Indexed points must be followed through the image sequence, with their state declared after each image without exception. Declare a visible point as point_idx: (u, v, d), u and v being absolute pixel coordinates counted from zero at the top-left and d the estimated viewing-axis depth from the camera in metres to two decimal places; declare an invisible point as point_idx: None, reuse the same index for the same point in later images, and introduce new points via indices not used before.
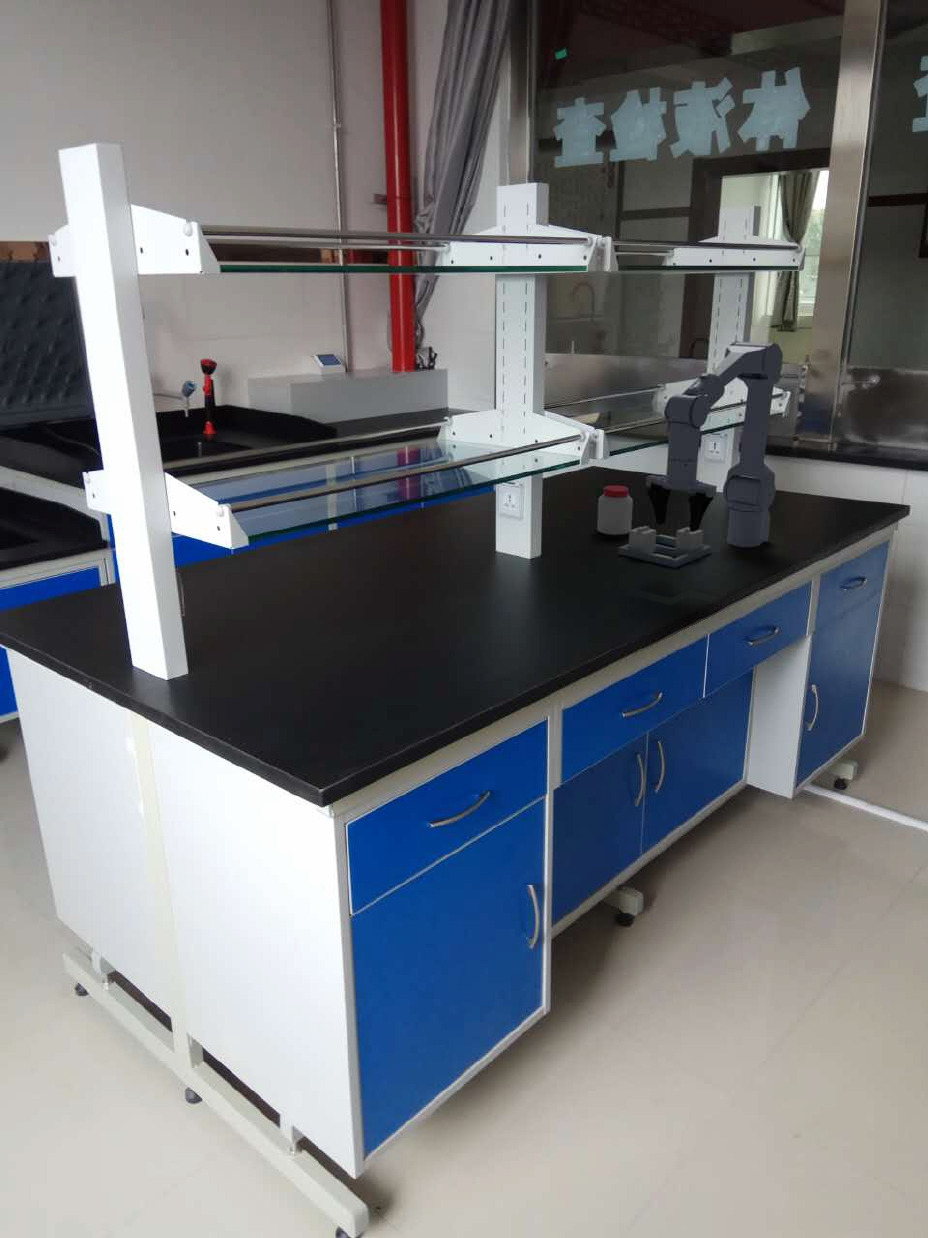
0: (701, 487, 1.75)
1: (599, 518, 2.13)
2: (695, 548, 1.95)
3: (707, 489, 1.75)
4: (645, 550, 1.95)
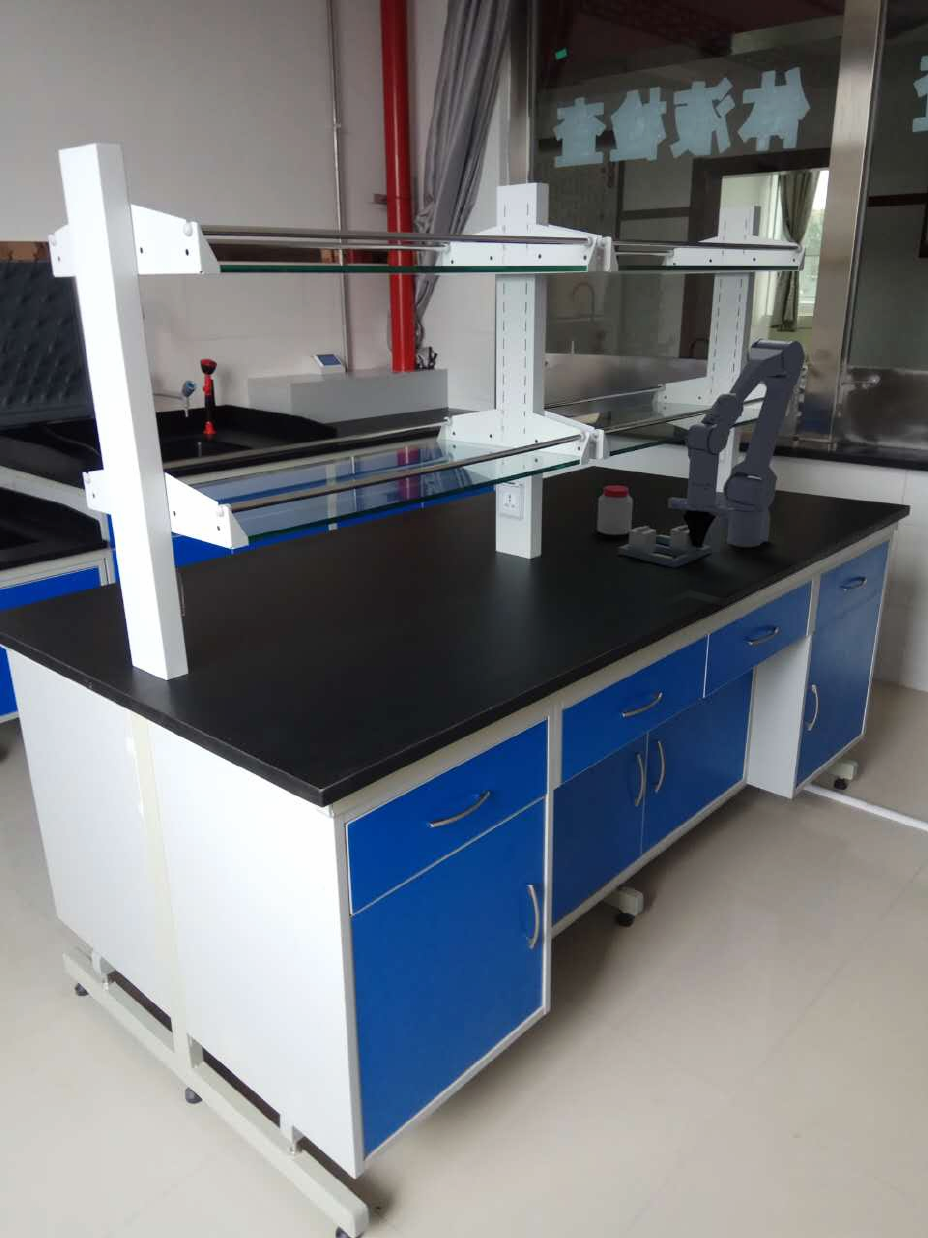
0: (720, 509, 1.88)
1: (599, 518, 2.13)
2: (689, 547, 1.96)
3: (726, 511, 1.87)
4: (645, 550, 1.95)
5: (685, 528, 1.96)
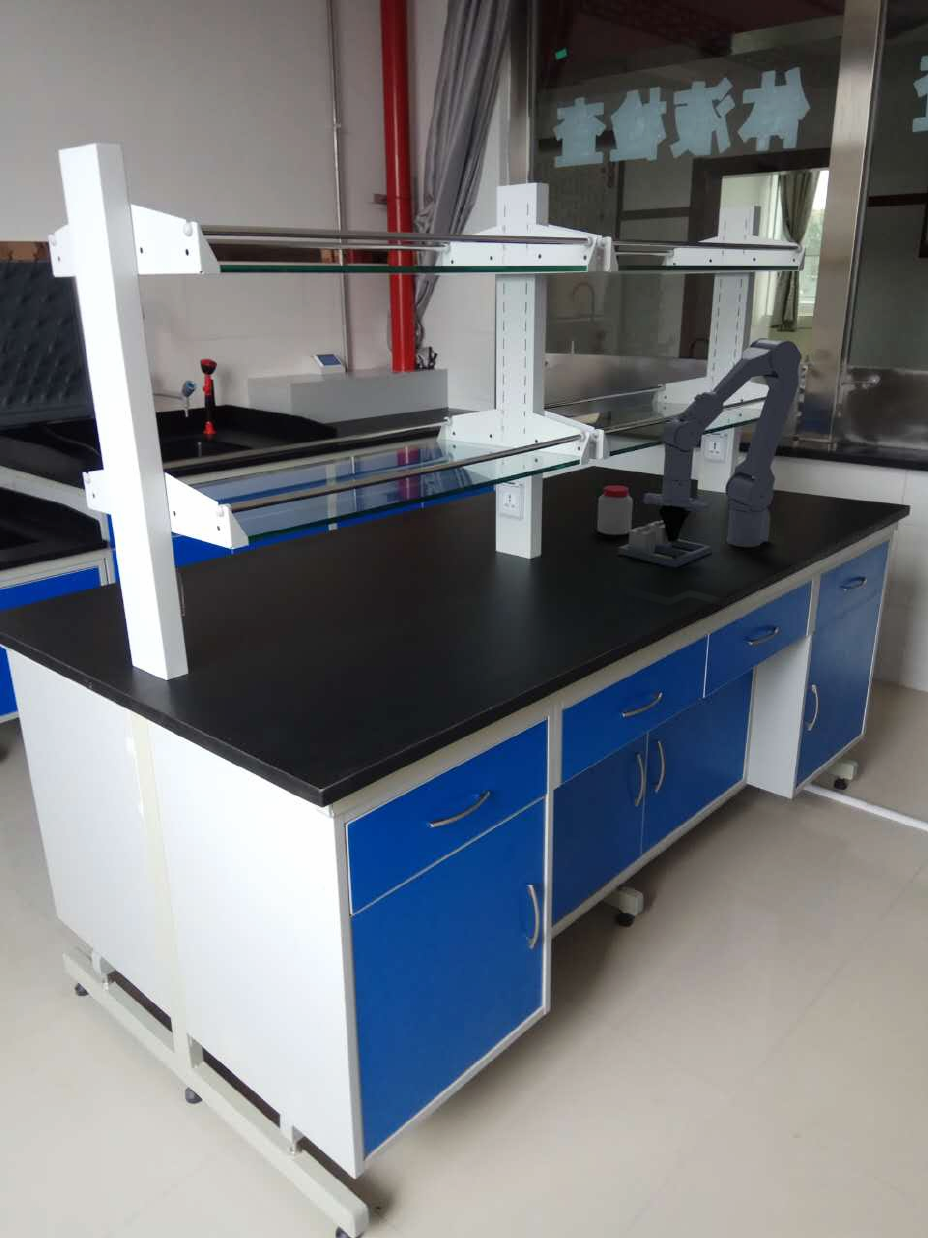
0: (694, 505, 1.91)
1: (599, 518, 2.13)
2: (665, 541, 2.00)
3: (700, 506, 1.91)
4: (645, 550, 1.95)
5: (661, 523, 2.00)
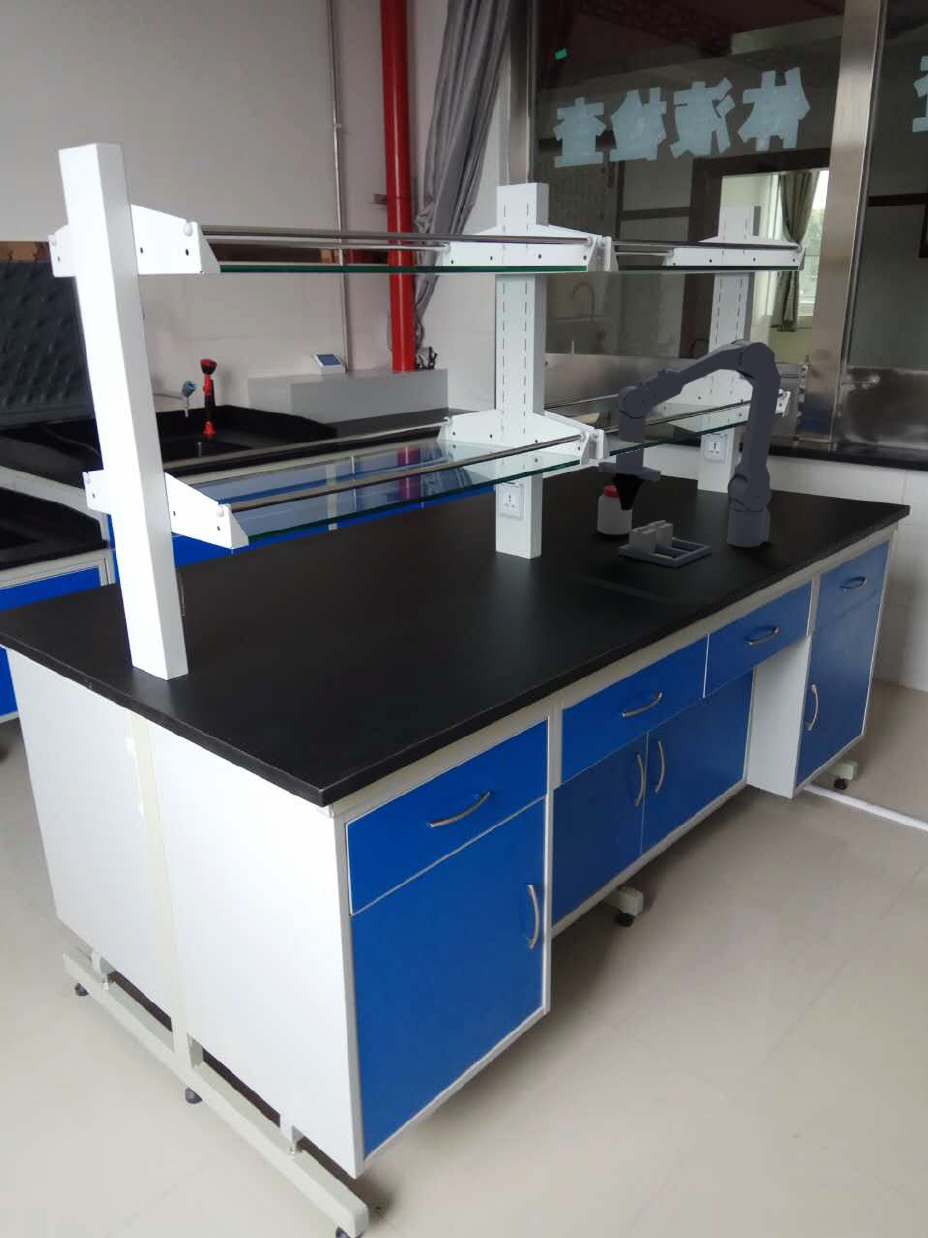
0: (646, 472, 1.91)
1: (599, 518, 2.13)
2: (665, 541, 2.00)
3: (652, 474, 1.91)
4: (645, 550, 1.95)
5: (661, 523, 2.00)
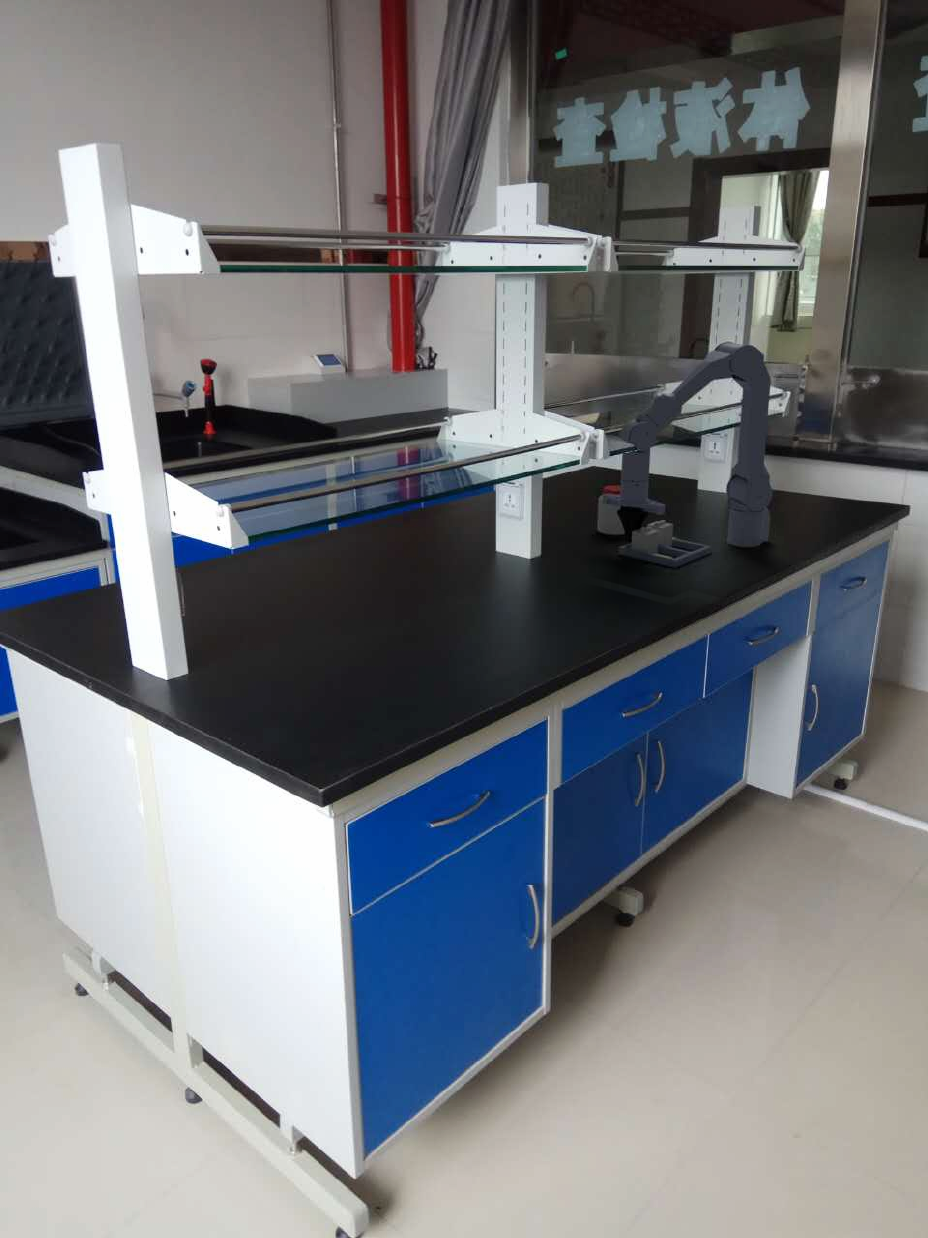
0: (651, 505, 1.91)
1: (599, 518, 2.13)
2: (665, 541, 2.00)
3: (656, 507, 1.91)
4: (648, 551, 1.94)
5: (661, 523, 2.00)
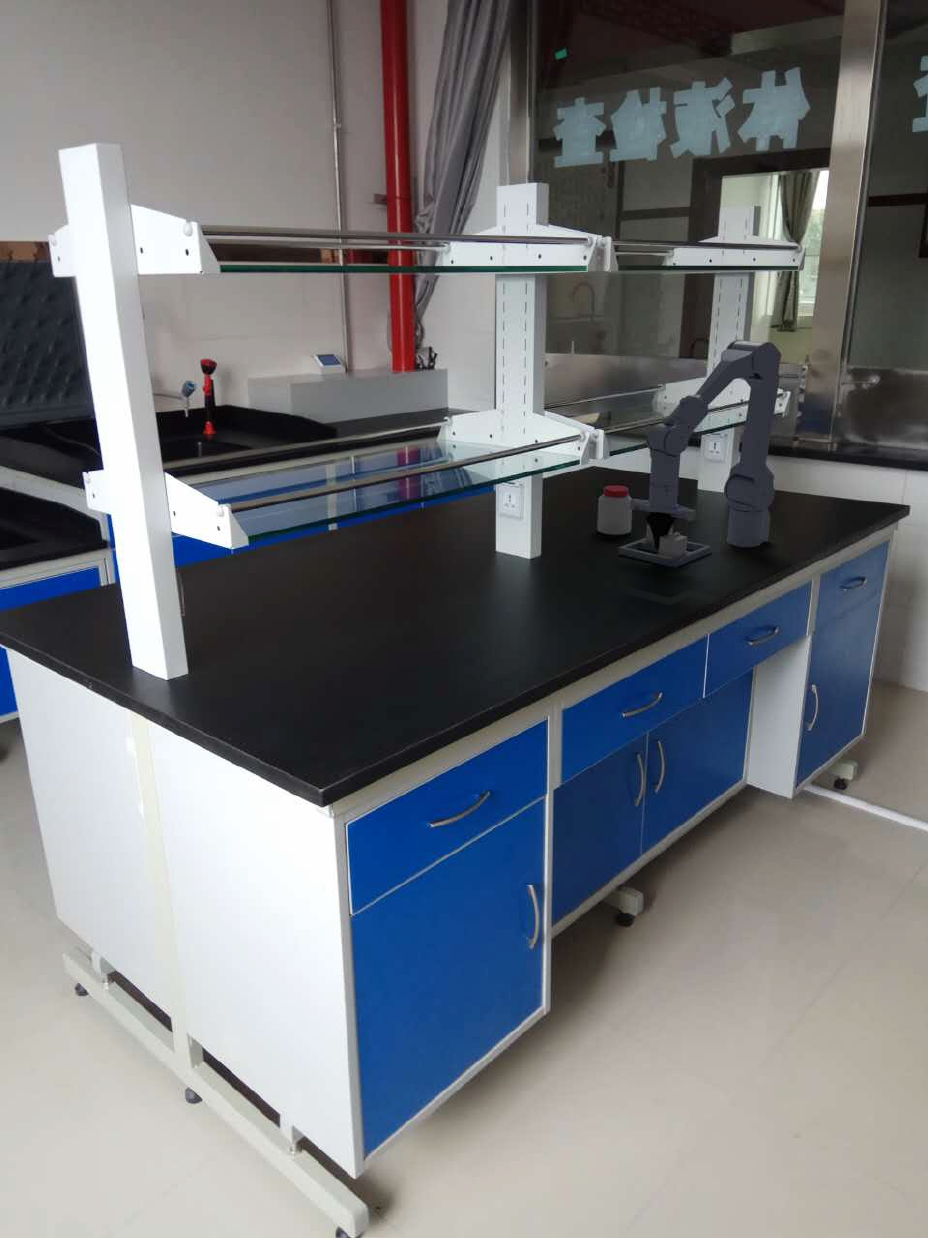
0: (681, 511, 1.87)
1: (599, 518, 2.13)
2: None
3: (687, 513, 1.86)
4: (676, 557, 1.90)
5: None
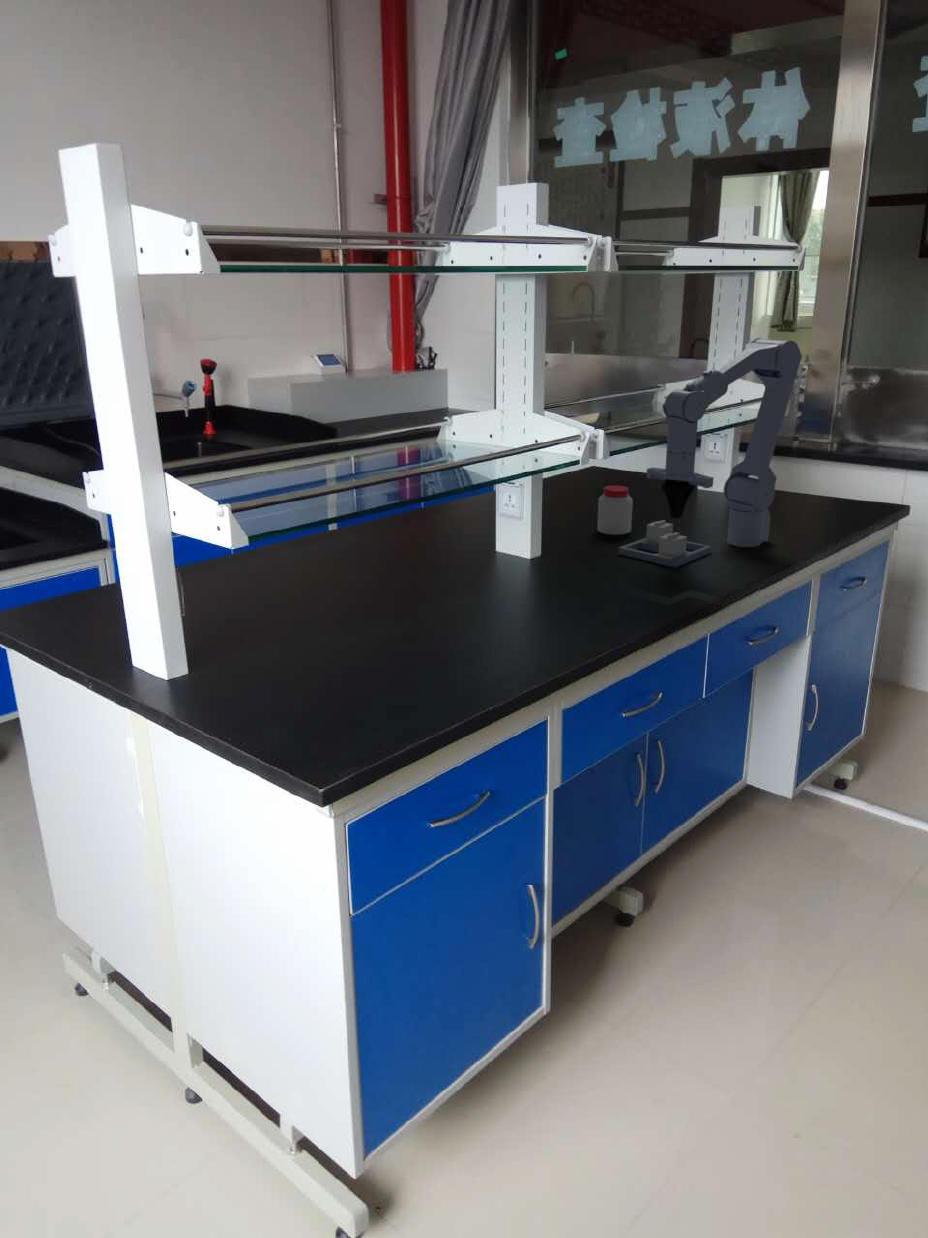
0: (698, 478, 1.84)
1: (599, 518, 2.13)
2: None
3: (704, 480, 1.83)
4: (676, 557, 1.90)
5: (661, 523, 2.00)
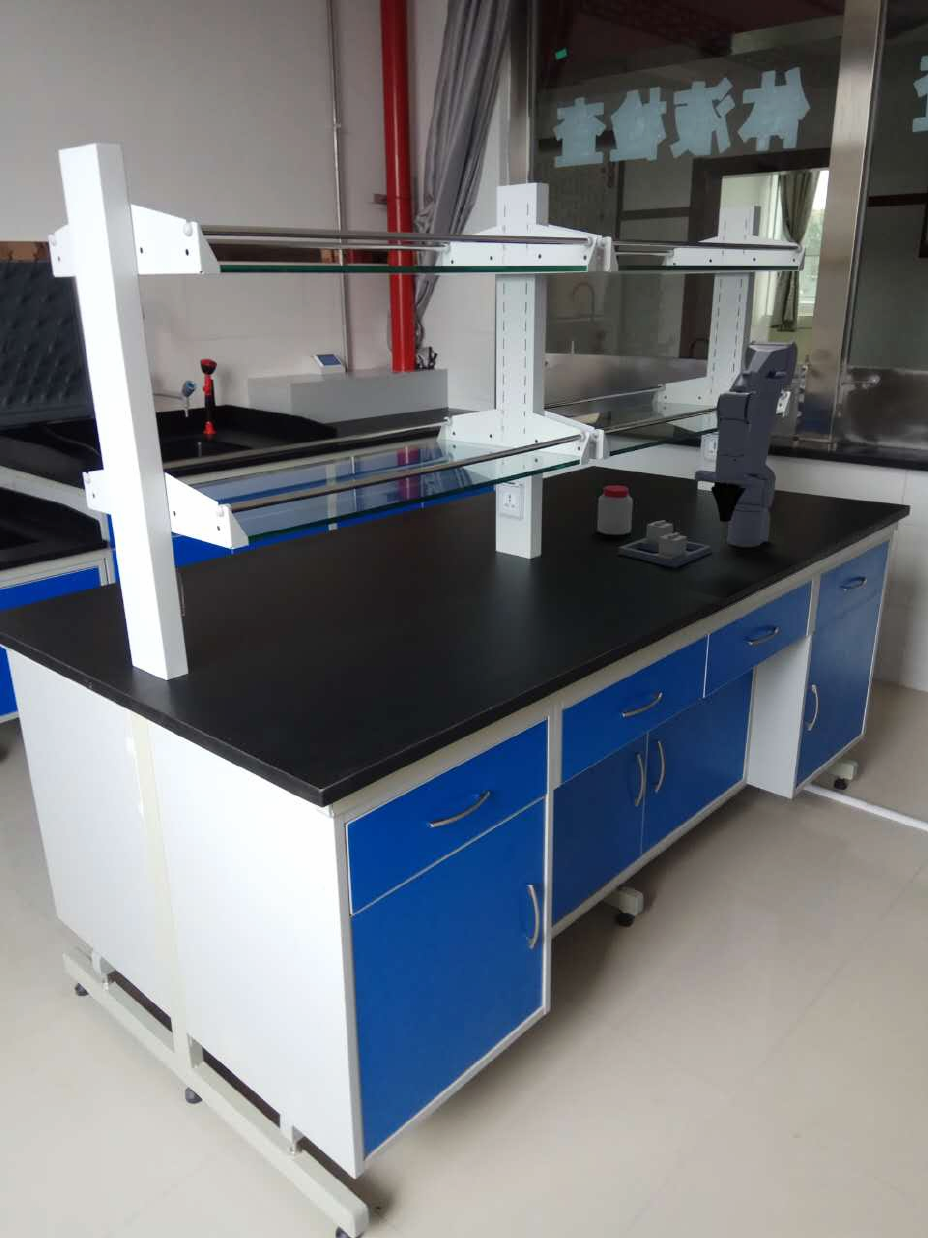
0: (750, 481, 1.80)
1: (599, 518, 2.13)
2: None
3: (756, 483, 1.80)
4: (676, 557, 1.90)
5: (661, 523, 2.00)
